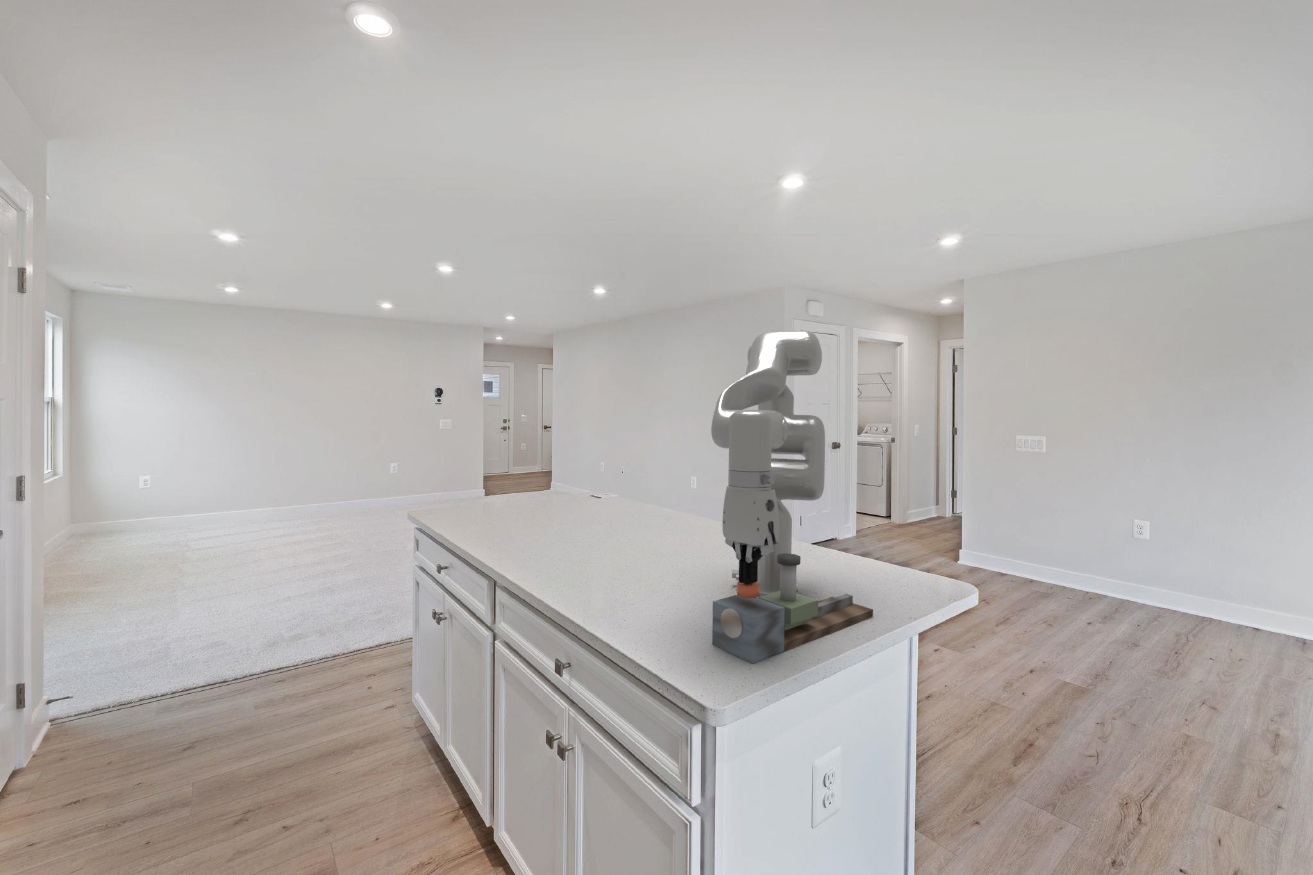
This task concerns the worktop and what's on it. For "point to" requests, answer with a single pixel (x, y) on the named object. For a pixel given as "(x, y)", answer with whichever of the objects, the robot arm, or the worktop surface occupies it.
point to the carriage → (792, 594)
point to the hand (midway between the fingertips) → (748, 581)
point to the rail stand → (776, 625)
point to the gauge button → (748, 590)
